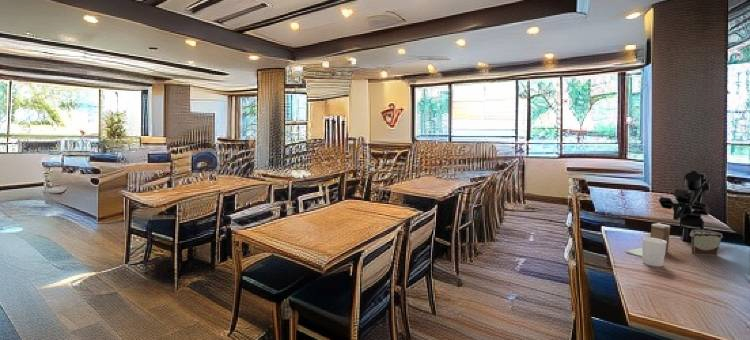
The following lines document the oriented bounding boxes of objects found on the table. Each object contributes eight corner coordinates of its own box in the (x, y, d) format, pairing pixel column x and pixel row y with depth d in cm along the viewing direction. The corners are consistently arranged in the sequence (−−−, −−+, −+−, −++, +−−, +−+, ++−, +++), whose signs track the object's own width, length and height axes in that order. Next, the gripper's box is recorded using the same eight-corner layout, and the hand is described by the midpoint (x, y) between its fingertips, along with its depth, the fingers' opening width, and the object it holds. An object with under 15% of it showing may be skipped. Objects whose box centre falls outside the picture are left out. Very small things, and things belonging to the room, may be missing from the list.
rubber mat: (644, 248, 176) (644, 247, 176) (665, 254, 168) (665, 253, 168) (625, 252, 170) (625, 251, 170) (646, 258, 162) (646, 257, 162)
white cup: (660, 261, 158) (662, 238, 157) (667, 268, 151) (670, 243, 150) (638, 259, 161) (640, 236, 160) (644, 265, 154) (646, 241, 152)
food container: (709, 251, 173) (712, 229, 172) (720, 255, 167) (723, 233, 166) (681, 250, 174) (683, 228, 173) (690, 254, 168) (693, 232, 167)
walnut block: (655, 248, 177) (658, 223, 175) (667, 251, 172) (670, 225, 171) (649, 249, 174) (651, 224, 173) (661, 252, 170) (663, 226, 169)
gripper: (662, 180, 185) (647, 204, 182) (709, 185, 168) (693, 212, 165) (670, 195, 189) (655, 219, 186) (716, 202, 173) (700, 228, 169)
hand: (674, 219), depth 176 cm, fingers closed
